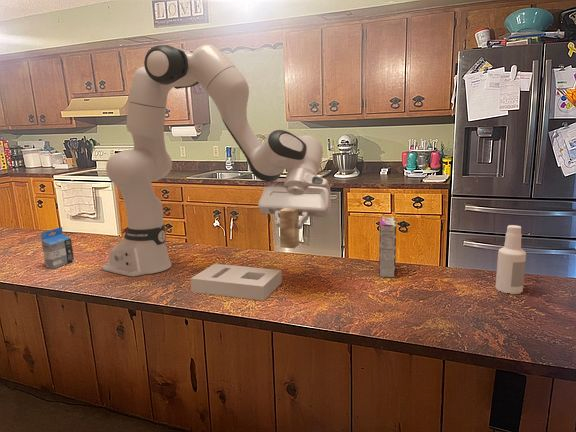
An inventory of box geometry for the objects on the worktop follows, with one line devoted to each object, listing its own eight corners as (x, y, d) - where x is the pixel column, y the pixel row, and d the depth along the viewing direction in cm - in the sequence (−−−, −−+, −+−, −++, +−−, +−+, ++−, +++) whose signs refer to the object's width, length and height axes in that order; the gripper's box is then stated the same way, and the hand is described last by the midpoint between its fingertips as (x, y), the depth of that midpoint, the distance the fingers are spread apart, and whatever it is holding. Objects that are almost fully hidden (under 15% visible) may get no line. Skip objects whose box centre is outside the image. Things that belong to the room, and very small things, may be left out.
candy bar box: (378, 266, 147) (379, 216, 144) (394, 266, 146) (395, 217, 143) (378, 277, 136) (379, 224, 133) (395, 278, 135) (397, 224, 132)
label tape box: (53, 269, 149) (49, 233, 147) (44, 268, 151) (39, 232, 148) (74, 261, 157) (70, 227, 155) (65, 260, 159) (61, 226, 156)
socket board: (191, 291, 127) (190, 278, 126) (215, 275, 140) (214, 263, 139) (263, 300, 120) (263, 286, 119) (281, 283, 133) (281, 270, 132)
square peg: (280, 247, 121) (279, 210, 119) (285, 243, 124) (284, 207, 122) (294, 248, 119) (293, 211, 117) (299, 244, 123) (298, 208, 121)
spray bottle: (524, 295, 120) (530, 230, 116) (496, 293, 122) (501, 228, 119) (521, 287, 126) (526, 224, 123) (494, 284, 129) (499, 223, 125)
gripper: (262, 177, 128) (249, 218, 121) (332, 179, 121) (323, 222, 114) (268, 190, 133) (256, 230, 126) (336, 193, 126) (327, 235, 119)
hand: (288, 227), depth 120 cm, fingers closed on square peg, 4 cm apart
